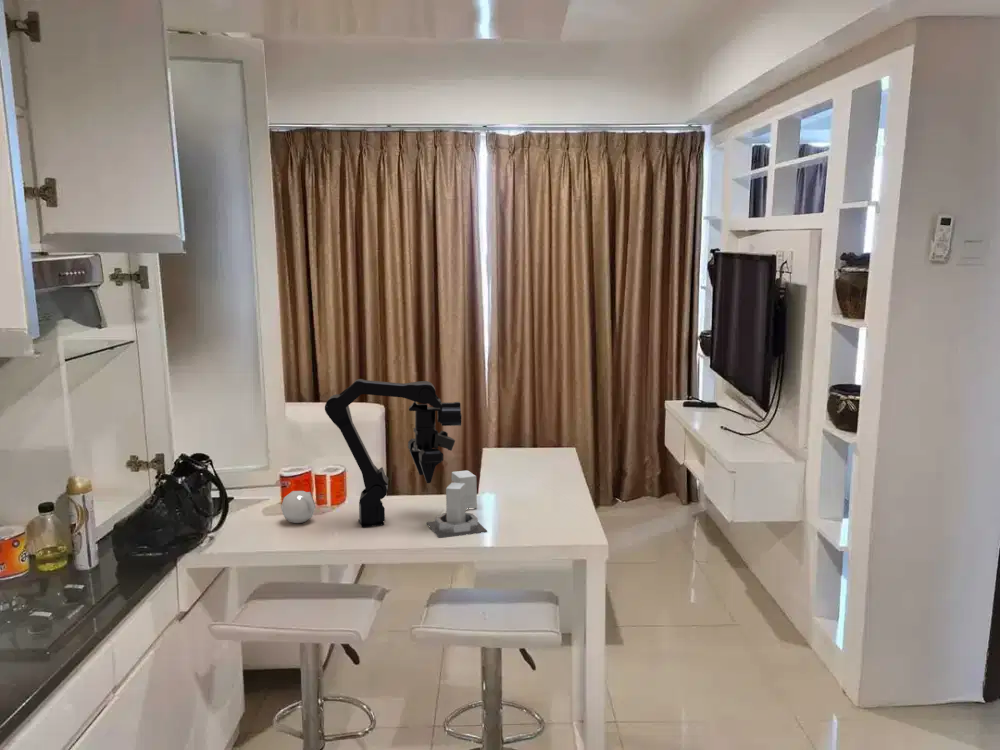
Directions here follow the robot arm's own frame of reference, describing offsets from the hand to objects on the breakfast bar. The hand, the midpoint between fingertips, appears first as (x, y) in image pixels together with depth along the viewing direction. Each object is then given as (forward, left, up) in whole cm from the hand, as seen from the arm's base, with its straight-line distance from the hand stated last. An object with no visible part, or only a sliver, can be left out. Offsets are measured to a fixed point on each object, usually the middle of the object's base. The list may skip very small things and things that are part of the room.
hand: (424, 478), depth 217 cm
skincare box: (+7, -8, -13) cm, 17 cm away
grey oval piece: (-34, +15, -13) cm, 39 cm away
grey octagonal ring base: (+7, -8, -13) cm, 17 cm away
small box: (+15, +10, -13) cm, 22 cm away
